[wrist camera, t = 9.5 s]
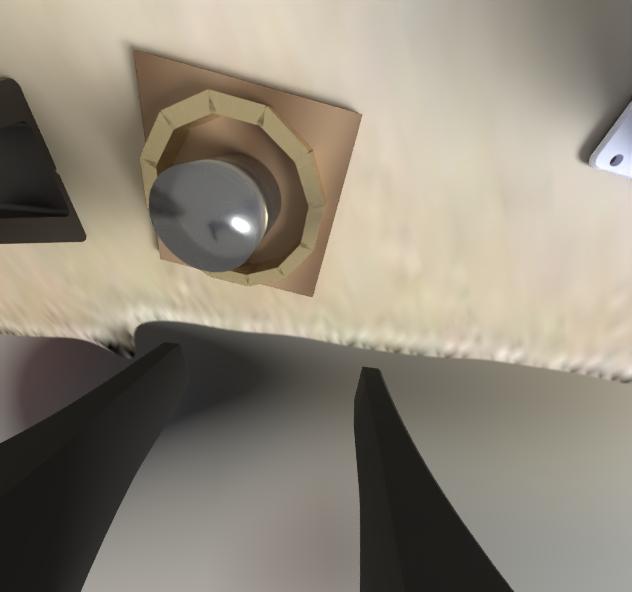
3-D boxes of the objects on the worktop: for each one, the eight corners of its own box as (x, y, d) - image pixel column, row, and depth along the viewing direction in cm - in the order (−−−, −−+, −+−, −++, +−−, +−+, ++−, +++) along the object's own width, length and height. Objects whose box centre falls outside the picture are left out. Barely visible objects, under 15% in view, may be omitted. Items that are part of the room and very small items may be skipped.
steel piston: (288, 168, 14) (264, 185, 10) (274, 244, 16) (249, 283, 12) (205, 141, 14) (143, 147, 9) (203, 223, 16) (153, 256, 12)
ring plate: (361, 115, 13) (364, 112, 11) (313, 291, 19) (309, 310, 17) (145, 53, 12) (106, 39, 10) (166, 254, 19) (145, 269, 17)
